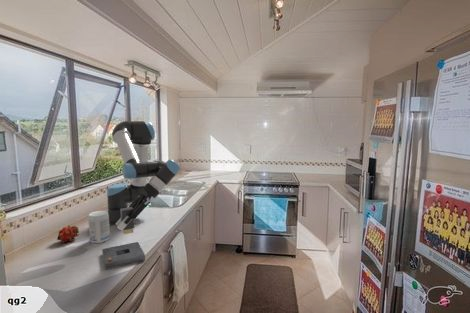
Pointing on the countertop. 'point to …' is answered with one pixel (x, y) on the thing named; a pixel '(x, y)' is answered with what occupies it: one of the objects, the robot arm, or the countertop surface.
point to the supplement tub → (99, 226)
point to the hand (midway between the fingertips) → (118, 227)
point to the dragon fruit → (68, 233)
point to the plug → (130, 226)
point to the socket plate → (122, 255)
